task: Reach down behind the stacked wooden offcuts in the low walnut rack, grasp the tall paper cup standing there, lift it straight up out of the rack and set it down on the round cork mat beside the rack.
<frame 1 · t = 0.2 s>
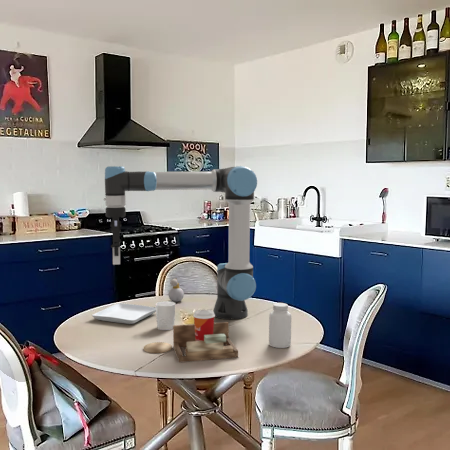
hand: (116, 261, 200), 28 cm above the table, fingers open, 13 cm apart
paper cup: (204, 351, 180), resting in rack
white cup: (165, 328, 207), on the table
salad plate: (126, 318, 223), on the table
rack: (204, 352, 179), on the table
pill bottle: (279, 345, 187), on the table
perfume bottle: (176, 302, 249), on the table
mat: (158, 348, 183), on the table
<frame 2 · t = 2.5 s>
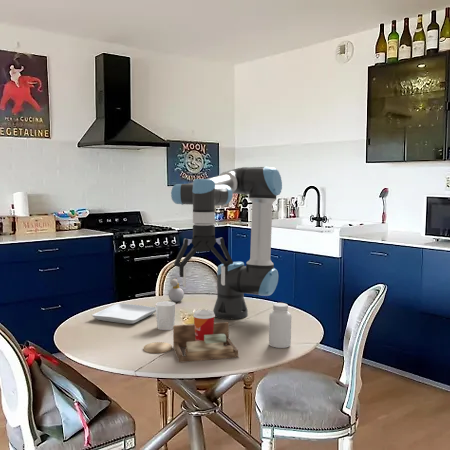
hand: (203, 285, 178), 23 cm above the table, fingers open, 13 cm apart
nothing on the table moved.
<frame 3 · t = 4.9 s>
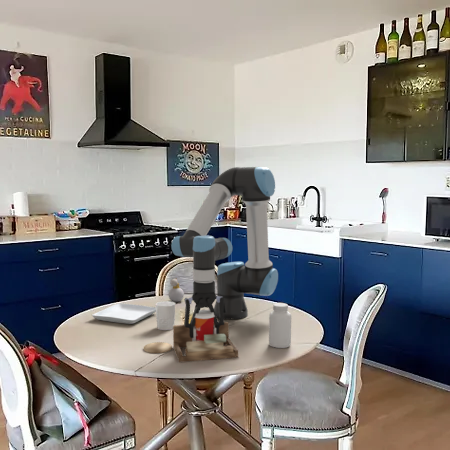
hand: (204, 345, 180), 2 cm above the table, fingers closed on paper cup, 6 cm apart
paper cup: (204, 351, 180), resting in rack, touching gripper
everything else where it was.
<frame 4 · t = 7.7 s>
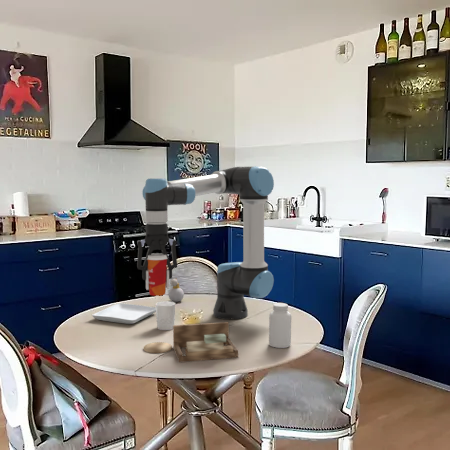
hand: (157, 288, 181), 22 cm above the table, fingers closed on paper cup, 6 cm apart
paper cup: (157, 294, 181), point 20 cm above the table, touching gripper
everything else where it was.
when the fingers open (4 cm above the table, at t = 10.7 s): paper cup moves 3 cm, resting on mat.
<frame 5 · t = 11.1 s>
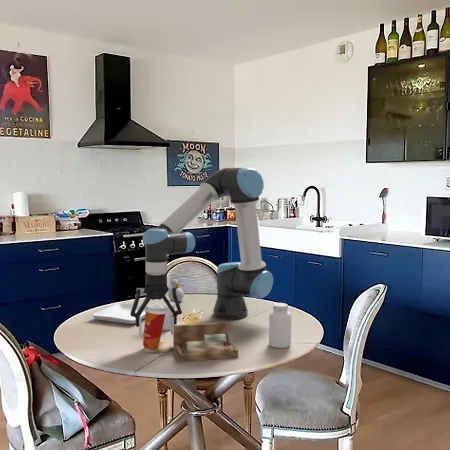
hand: (156, 334, 182), 5 cm above the table, fingers open, 11 cm apart
paper cup: (150, 346, 182), point 1 cm above the table, touching mat
everything else where it was.
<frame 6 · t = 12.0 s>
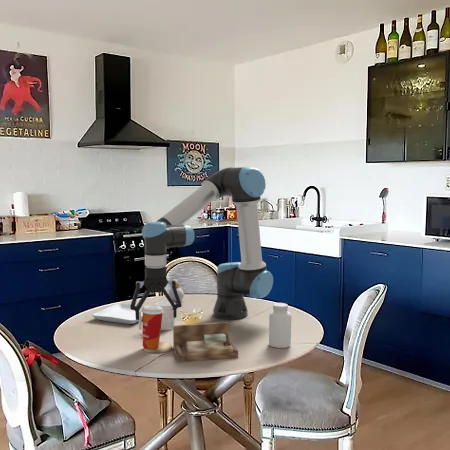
hand: (156, 327, 182), 7 cm above the table, fingers open, 10 cm apart
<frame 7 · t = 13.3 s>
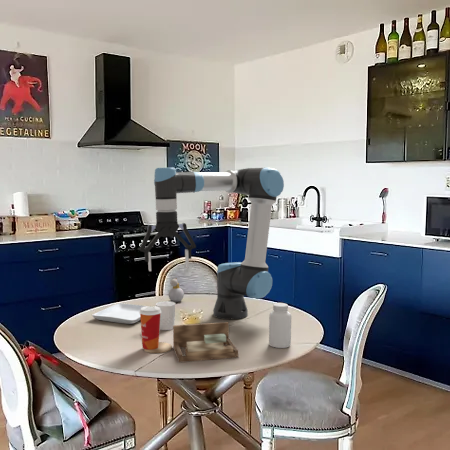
hand: (168, 269, 187), 27 cm above the table, fingers open, 13 cm apart
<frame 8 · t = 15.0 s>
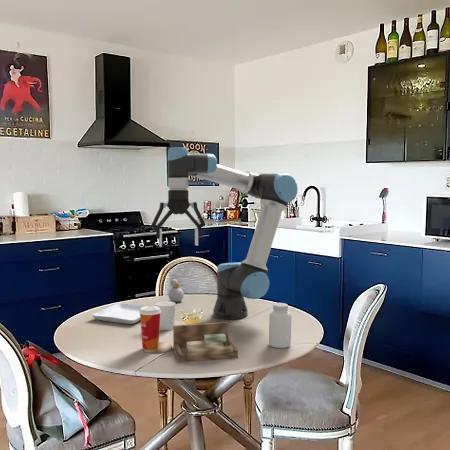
hand: (178, 245, 194), 35 cm above the table, fingers open, 13 cm apart
at the end: paper cup inside the target area on the mat (2.7 cm from its centre), point 0.4 cm above the mat's base; paper cup tilted 0°; the gripper is holding nothing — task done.
